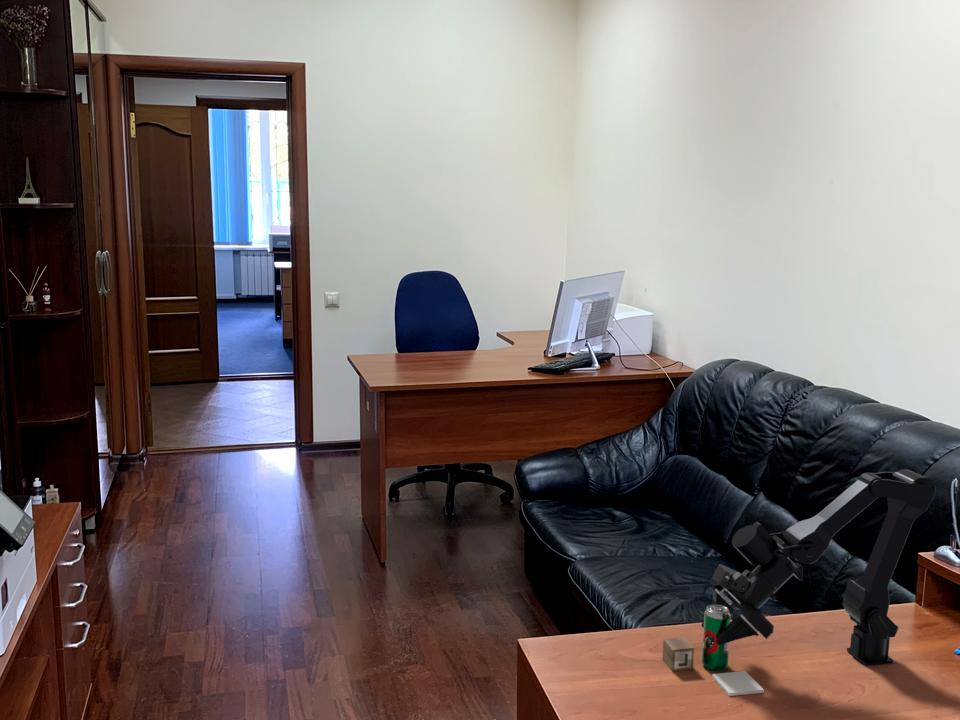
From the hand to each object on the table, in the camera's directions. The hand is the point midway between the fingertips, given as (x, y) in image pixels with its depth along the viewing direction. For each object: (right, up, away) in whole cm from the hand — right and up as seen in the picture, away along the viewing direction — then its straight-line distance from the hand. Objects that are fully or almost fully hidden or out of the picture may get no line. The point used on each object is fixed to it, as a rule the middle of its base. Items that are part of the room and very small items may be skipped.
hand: (709, 635), depth 173 cm
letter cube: (-6, -6, +2) cm, 9 cm away
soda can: (+1, -7, +1) cm, 7 cm away
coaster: (+4, -8, -6) cm, 10 cm away
